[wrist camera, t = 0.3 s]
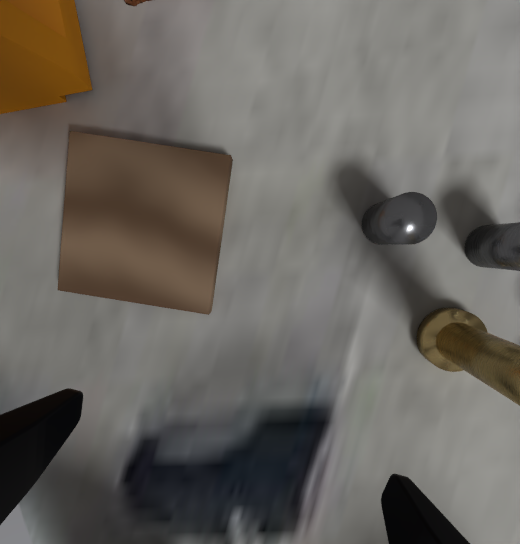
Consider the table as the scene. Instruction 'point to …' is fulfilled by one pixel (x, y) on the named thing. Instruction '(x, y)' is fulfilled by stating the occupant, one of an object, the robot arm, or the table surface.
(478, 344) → the brass pin
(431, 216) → the cylinder
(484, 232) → the dark gray domed cylinder
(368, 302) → the table surface
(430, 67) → the table surface
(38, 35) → the bracket
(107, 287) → the board
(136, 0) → the sunglasses case
